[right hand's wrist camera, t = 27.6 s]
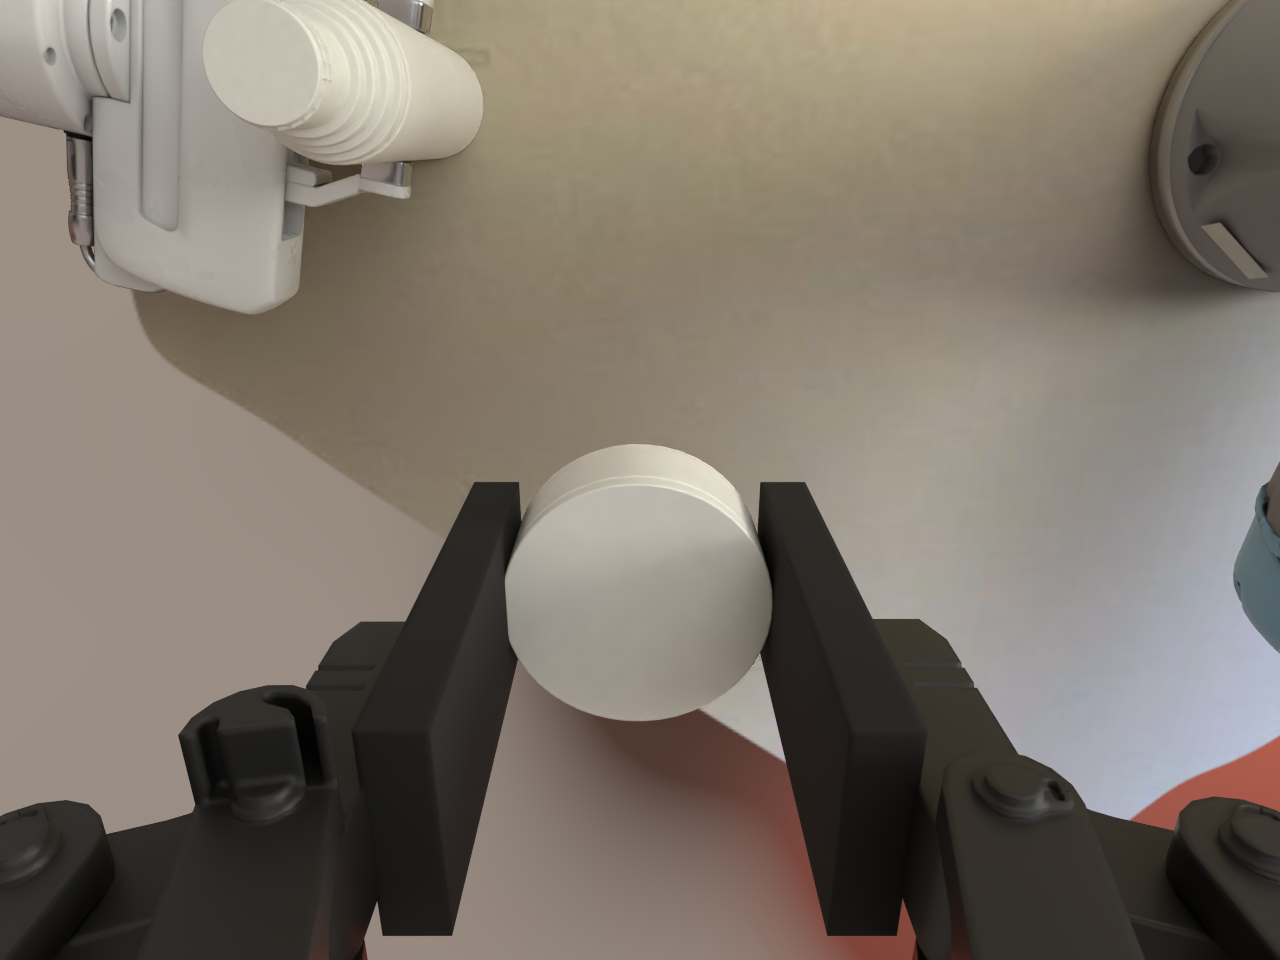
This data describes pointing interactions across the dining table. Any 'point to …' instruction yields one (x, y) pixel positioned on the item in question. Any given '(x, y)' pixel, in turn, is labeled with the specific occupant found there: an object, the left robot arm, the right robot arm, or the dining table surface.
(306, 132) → the bottle
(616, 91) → the dining table surface
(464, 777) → the right robot arm
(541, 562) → the cap
